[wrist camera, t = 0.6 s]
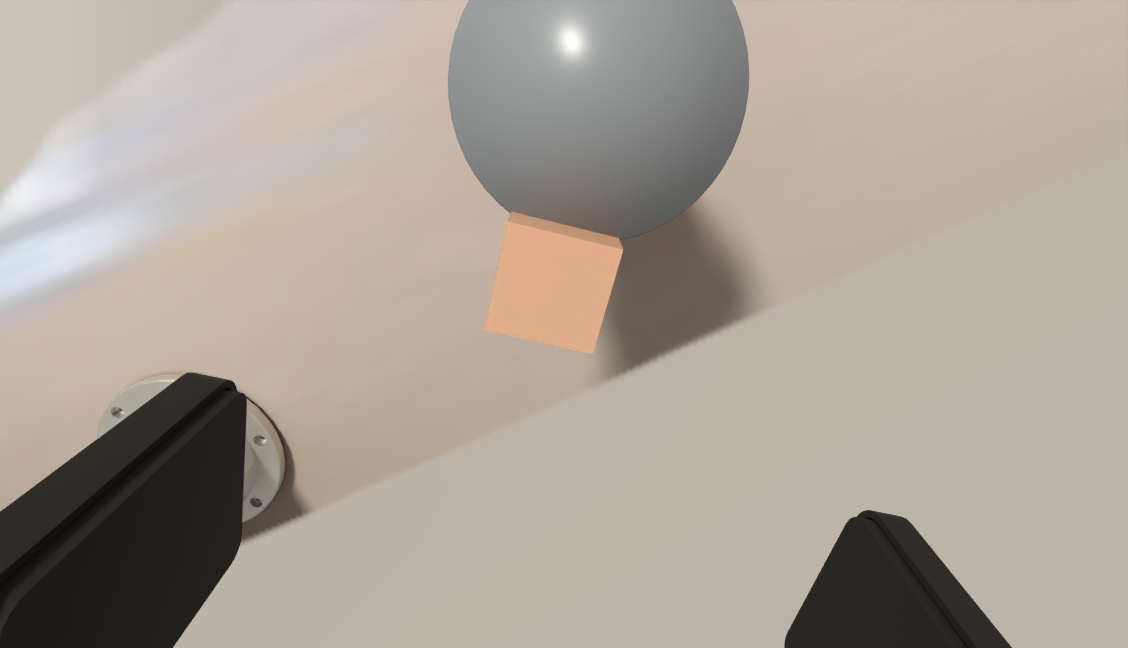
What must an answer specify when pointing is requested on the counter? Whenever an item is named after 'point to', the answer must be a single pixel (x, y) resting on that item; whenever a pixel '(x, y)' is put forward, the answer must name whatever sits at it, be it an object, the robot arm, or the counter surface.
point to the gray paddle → (590, 139)
